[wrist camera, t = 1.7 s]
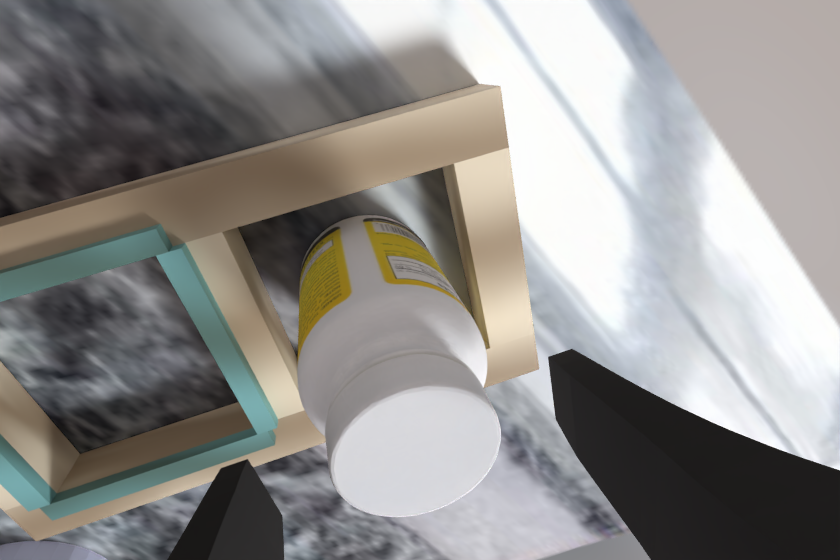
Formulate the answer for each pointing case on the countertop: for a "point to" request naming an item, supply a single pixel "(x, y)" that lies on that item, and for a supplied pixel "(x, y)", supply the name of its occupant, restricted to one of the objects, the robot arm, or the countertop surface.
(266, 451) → the panel
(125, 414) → the countertop surface
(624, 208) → the countertop surface
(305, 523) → the countertop surface
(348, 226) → the supplement bottle
